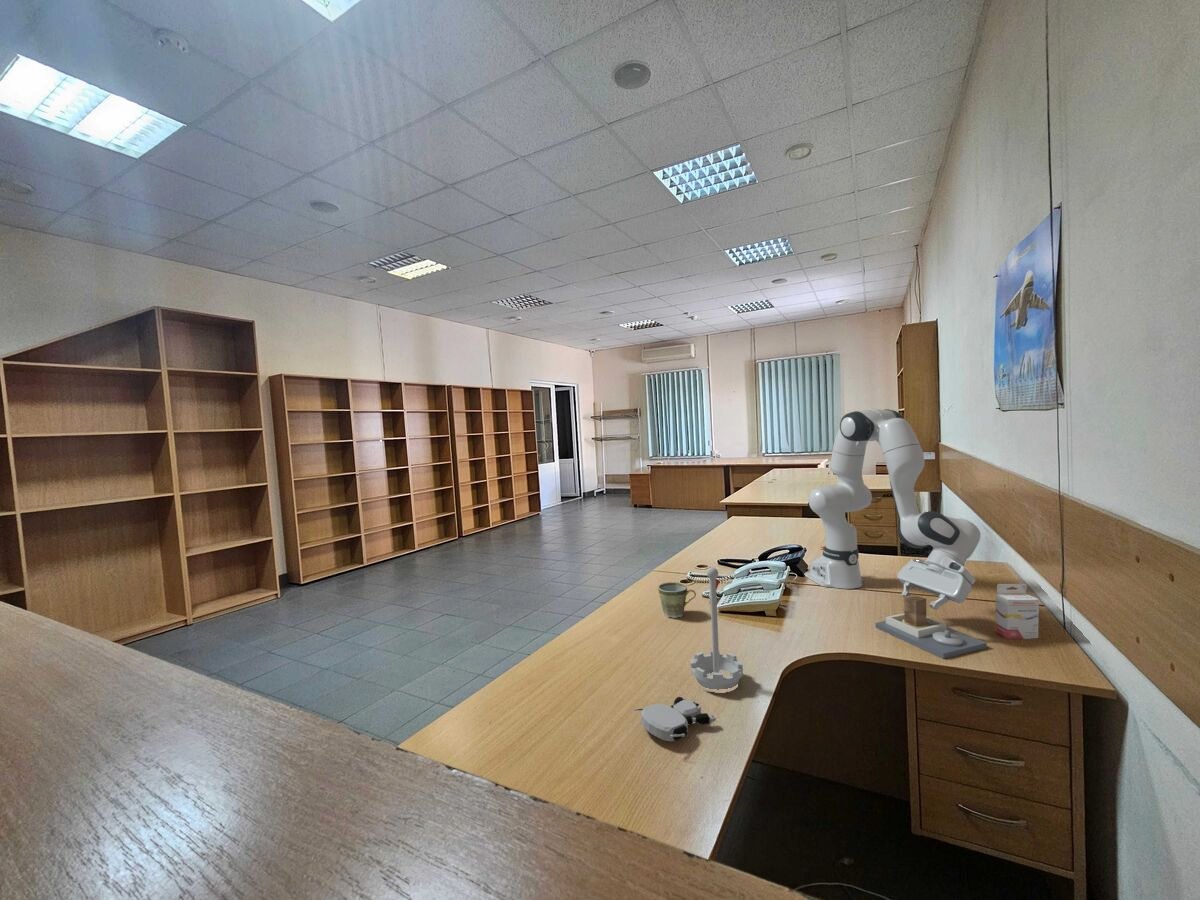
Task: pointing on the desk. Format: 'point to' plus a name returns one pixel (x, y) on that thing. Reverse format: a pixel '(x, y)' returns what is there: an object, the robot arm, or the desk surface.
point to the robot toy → (673, 718)
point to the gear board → (932, 637)
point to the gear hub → (915, 611)
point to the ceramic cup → (673, 598)
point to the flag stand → (716, 652)
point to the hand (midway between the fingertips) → (918, 602)
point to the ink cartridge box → (1016, 612)
